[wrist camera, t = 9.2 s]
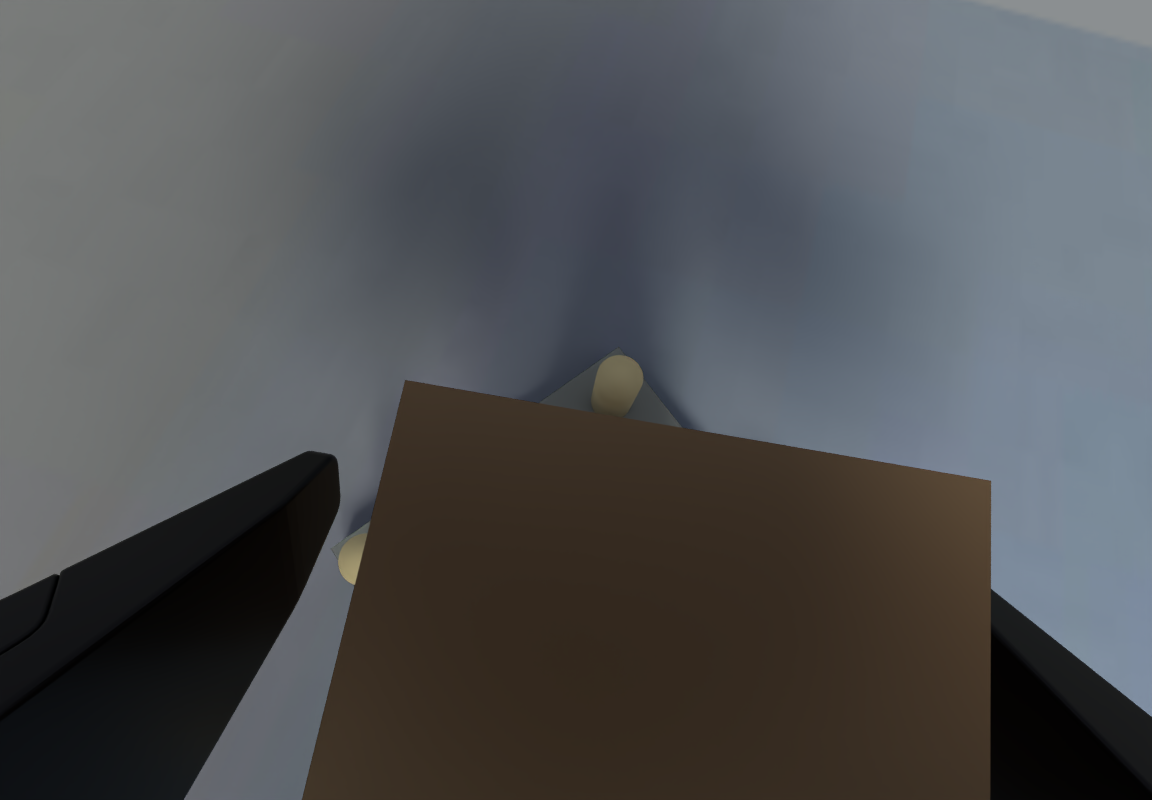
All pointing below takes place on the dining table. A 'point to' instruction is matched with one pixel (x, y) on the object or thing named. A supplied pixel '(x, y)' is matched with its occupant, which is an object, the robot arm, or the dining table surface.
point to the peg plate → (595, 390)
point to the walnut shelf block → (656, 618)
